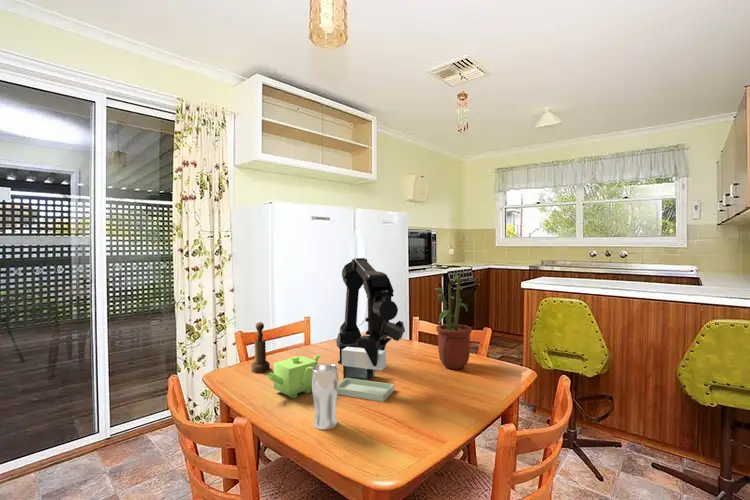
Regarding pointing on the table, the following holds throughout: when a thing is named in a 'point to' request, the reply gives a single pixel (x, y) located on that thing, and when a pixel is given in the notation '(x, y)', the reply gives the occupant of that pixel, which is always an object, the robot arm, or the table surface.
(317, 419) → the beer glass
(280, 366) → the kettle
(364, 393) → the dish
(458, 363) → the potted plant
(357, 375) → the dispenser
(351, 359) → the white square column
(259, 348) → the dark turned peg
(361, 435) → the table surface
